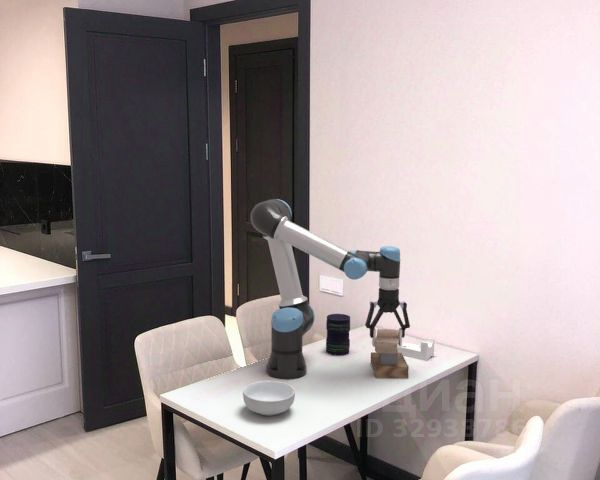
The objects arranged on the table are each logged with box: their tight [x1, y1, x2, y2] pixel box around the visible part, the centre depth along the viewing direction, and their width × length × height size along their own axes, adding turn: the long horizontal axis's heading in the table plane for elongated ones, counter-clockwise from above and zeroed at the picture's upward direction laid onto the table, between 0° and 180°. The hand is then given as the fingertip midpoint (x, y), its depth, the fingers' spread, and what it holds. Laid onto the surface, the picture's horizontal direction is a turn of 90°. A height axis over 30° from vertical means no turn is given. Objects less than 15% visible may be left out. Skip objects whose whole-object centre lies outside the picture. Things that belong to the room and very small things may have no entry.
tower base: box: [370, 351, 409, 379], centre depth 251 cm, size 12×16×5 cm
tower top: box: [380, 351, 398, 365], centre depth 250 cm, size 6×13×5 cm, turn 174°
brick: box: [374, 328, 399, 354], centre depth 249 cm, size 17×8×5 cm, turn 170°
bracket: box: [397, 337, 435, 362], centre depth 269 cm, size 13×7×8 cm, turn 54°
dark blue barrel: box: [325, 313, 351, 357], centre depth 270 cm, size 10×10×15 cm
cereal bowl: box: [242, 380, 296, 417], centre depth 212 cm, size 17×17×7 cm
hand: (386, 345), depth 249 cm, fingers closed on brick, 9 cm apart
